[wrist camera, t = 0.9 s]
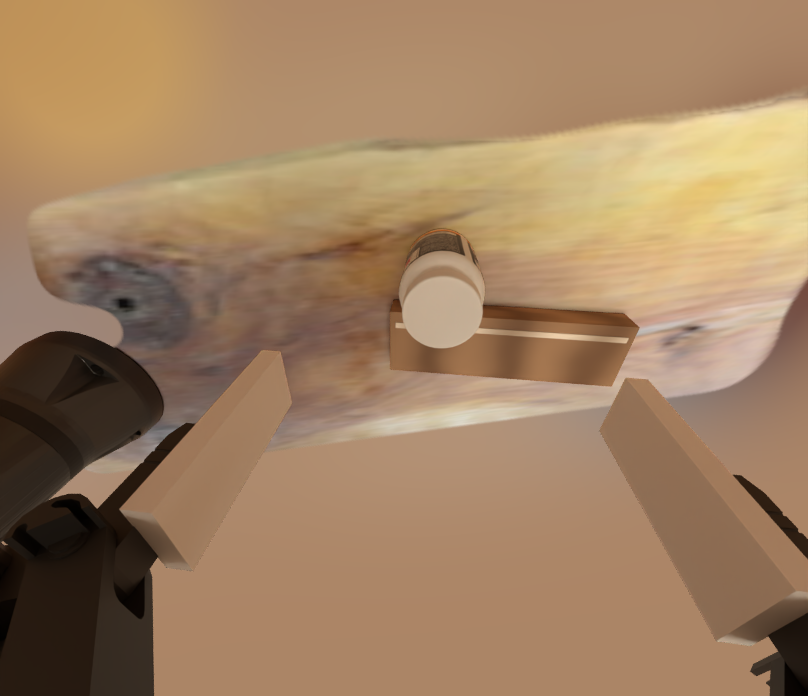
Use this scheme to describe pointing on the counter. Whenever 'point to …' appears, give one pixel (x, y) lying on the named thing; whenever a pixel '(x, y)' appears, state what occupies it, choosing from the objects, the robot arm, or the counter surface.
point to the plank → (524, 346)
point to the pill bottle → (442, 290)
